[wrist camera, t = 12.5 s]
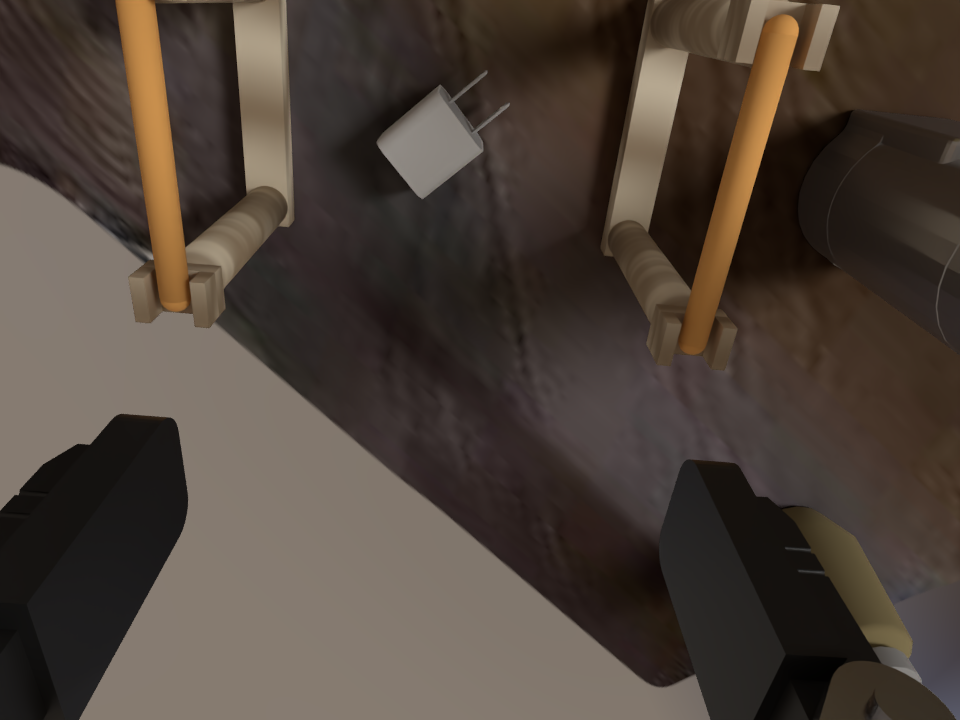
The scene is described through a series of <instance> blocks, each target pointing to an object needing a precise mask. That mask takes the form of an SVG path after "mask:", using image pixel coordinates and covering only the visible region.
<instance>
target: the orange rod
mask: <svg viewBox="0 0 960 720" xmlns="http://www.w3.org/2000/svg"><path fill="white" fill-rule="evenodd" d="M115 1H116V8H117V15H118V22H119V28H120V35H121V42H122V49H123V55H124V62H125V69H126V76H127V82H128V89H129V96H130V102H131V109H132V116H133V123H134V129H135V136H136V143H137V150H138V156H139V163H140V170H141V177H142V183H143V190H144V197H145V203H146V210H147V217H148V224H149V230H150V237H151V244H152V251H153V257H154V264H155V271H156V278H157V284H158V291H159V298H160V302H161V304H162V305H163V306H164V307H165V308H166V309H167V310H170V311H174V312H179V311H182V310H184V309H186V308H187V307H188V306H189V304H190V302H191V292H190V284H189V275H188V266H187V258H186V250H185V242H184V234H183V226H182V218H181V210H180V202H179V193H178V185H177V177H176V169H175V161H174V153H173V145H172V137H171V129H170V120H169V112H168V104H167V96H166V88H165V80H164V72H163V64H162V55H161V47H160V39H159V31H158V23H157V15H156V7H155V0H115Z"/></svg>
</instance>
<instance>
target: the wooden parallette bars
mask: <svg viewBox="0 0 960 720" xmlns="http://www.w3.org/2000/svg"><path fill="white" fill-rule="evenodd" d="M155 3H233V13H234V27H235V41H236V54H237V68H238V82H239V95H240V109H241V122H242V136H243V150H244V163H245V177H246V191H247V196H245V197H244V198H243V199H242V200H241V201H240V202H238V203H237V204H236V205H235V206H234V207H232V208H231V209H230V210H229V211H228V212H227V213H225V214H224V215H223V216H222V217H221V218H220V219H218V220H217V221H216V222H215V223H214V224H213V225H211V226H210V227H209V228H208V229H207V230H206V231H204V232H203V233H202V234H201V235H200V236H199V237H197V238H196V239H195V240H194V241H193V242H192V243H190V244H189V245H188V246H187V247H186V248H185V250H186V258H187V266H188V275H189V284H190V292H191V302H190V304H189V306H188V307H187V308H186V309H184V310H182V311H179V313H189V314H193V316H194V324H195V327H203V328H210V327H211V326H212V324H213V323H214V322H215V321H216V319H217V318H218V317H219V316H220V315H221V313H222V312H223V311H224V310H225V299H224V288H225V287H226V285H227V284H228V283H229V282H230V281H231V280H232V279H233V277H234V276H235V275H236V274H237V273H238V272H239V271H240V269H241V268H242V267H243V266H244V265H245V264H246V262H247V261H248V260H249V259H250V258H251V257H252V256H253V254H254V253H255V252H256V251H257V250H258V249H259V248H260V246H261V245H262V244H263V243H264V242H265V241H266V240H267V238H268V237H269V236H270V235H271V234H272V233H273V231H274V230H275V229H276V228H277V227H278V226H283V227H289V226H290V225H291V224H292V222H293V221H294V220H295V218H294V192H293V167H292V141H291V116H290V90H289V65H288V39H287V13H286V0H155ZM839 8H840V6H835V5H826V4H803V3H794V2H789V1H788V0H648V3H647V8H646V13H645V18H644V24H643V29H642V34H641V39H640V44H639V50H638V55H637V60H636V65H635V70H634V75H633V81H632V86H631V91H630V96H629V101H628V107H627V112H626V117H625V122H624V127H623V132H622V138H621V143H620V148H619V153H618V158H617V164H616V169H615V174H614V179H613V184H612V189H611V195H610V200H609V205H608V210H607V215H606V221H605V226H604V231H603V236H602V241H601V246H600V248H601V250H602V252H603V254H604V256H613V257H614V258H615V260H616V262H617V263H618V265H619V267H620V269H621V271H622V272H623V274H624V276H625V278H626V280H627V282H628V283H629V285H630V287H631V289H632V291H633V293H634V294H635V296H636V298H637V300H638V302H639V303H640V305H641V307H642V309H643V311H644V313H645V314H646V316H647V318H648V320H649V322H650V324H651V326H650V330H649V334H648V338H647V342H646V344H647V346H648V348H649V350H650V352H651V354H652V356H653V358H654V360H655V362H656V364H657V365H664V366H671V362H672V359H673V355H674V354H682V355H690V354H687V353H685V352H683V351H682V350H681V349H680V347H679V344H678V338H679V334H680V331H681V327H682V323H683V320H684V316H685V312H686V308H687V305H688V301H689V297H690V294H691V290H690V289H689V287H688V286H687V285H686V283H685V282H684V281H683V279H682V278H681V277H680V275H679V274H678V273H677V271H676V270H675V269H674V267H673V266H672V265H671V263H670V262H669V261H668V259H667V258H666V257H665V255H664V254H663V253H662V251H661V250H660V249H659V247H658V246H657V245H656V243H655V242H654V241H653V239H652V238H651V237H650V235H649V234H648V230H649V225H650V221H651V216H652V212H653V208H654V203H655V199H656V194H657V190H658V185H659V181H660V177H661V172H662V168H663V163H664V159H665V155H666V150H667V146H668V141H669V137H670V133H671V128H672V124H673V119H674V115H675V110H676V106H677V102H678V97H679V93H680V88H681V84H682V80H683V75H684V71H685V66H686V62H687V58H688V53H693V54H697V55H702V56H706V57H710V58H714V59H718V60H723V61H727V62H731V63H735V64H739V65H744V66H748V67H752V65H753V61H754V58H755V54H756V50H757V47H758V43H759V39H760V36H761V32H762V29H763V27H764V25H765V24H766V23H767V21H769V20H770V19H771V18H773V17H774V16H777V15H781V14H786V15H789V16H792V17H793V18H794V19H795V20H796V21H797V23H798V27H799V33H798V38H797V41H796V44H795V48H794V51H793V54H792V58H791V61H790V65H789V67H794V68H798V69H804V70H813V71H820V68H821V65H822V62H823V59H824V56H825V53H826V49H827V46H828V43H829V40H830V37H831V34H832V30H833V27H834V24H835V21H836V18H837V15H838V12H839ZM128 279H129V285H130V291H131V297H132V303H133V309H134V314H135V320H136V322H142V323H151V322H152V321H153V320H154V319H155V318H156V317H157V316H158V315H159V314H160V313H161V312H162V311H165V312H174V311H170V310H167V309H166V308H165V307H164V306H163V305H162V304H161V302H160V298H159V291H158V284H157V278H156V271H155V264H154V260H149V261H148V262H146V263H145V264H144V265H143V266H141V267H140V268H139V269H138V270H136V271H135V272H134V273H133V274H131V275H130V276H129V277H128ZM737 330H738V329H737V328H736V327H735V325H734V324H733V323H732V322H731V320H730V319H729V318H728V317H727V315H726V314H725V313H724V312H723V310H721V309H717V311H716V315H715V318H714V321H713V325H712V328H711V332H710V335H709V338H708V342H707V345H706V347H705V349H704V350H703V351H702V352H700V353H699V354H695V355H694V356H703V358H704V359H705V361H706V362H707V364H708V365H709V367H710V368H711V369H712V370H725V368H726V364H727V361H728V358H729V355H730V352H731V349H732V346H733V342H734V339H735V336H736V333H737Z"/></svg>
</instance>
